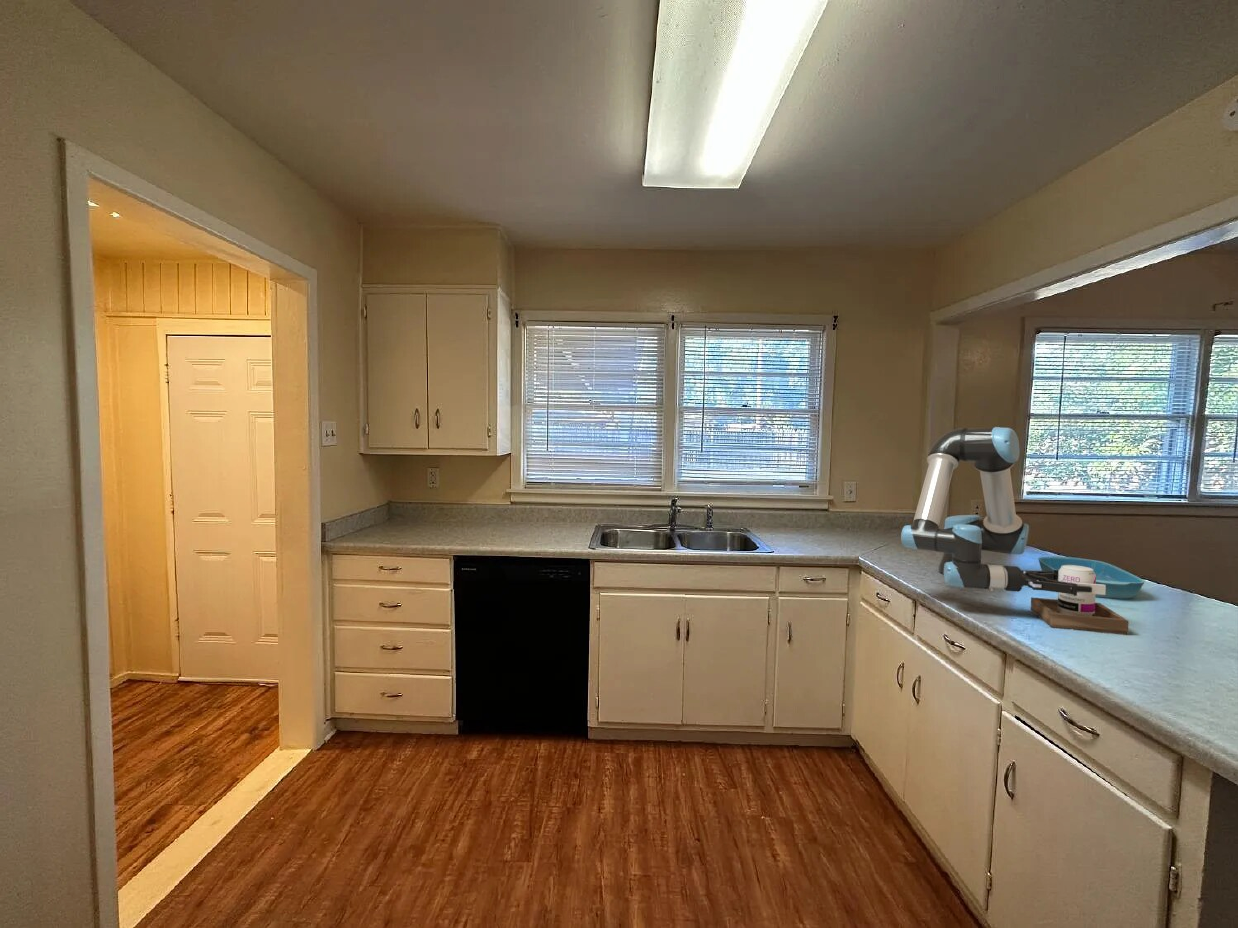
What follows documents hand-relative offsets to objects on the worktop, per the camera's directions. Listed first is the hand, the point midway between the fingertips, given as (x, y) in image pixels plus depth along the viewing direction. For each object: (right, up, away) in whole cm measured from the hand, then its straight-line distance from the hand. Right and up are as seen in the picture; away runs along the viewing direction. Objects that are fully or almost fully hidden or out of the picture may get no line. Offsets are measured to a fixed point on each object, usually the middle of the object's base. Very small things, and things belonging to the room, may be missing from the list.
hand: (1095, 584), depth 151 cm
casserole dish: (+30, -9, +36) cm, 48 cm away
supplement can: (-4, -11, +2) cm, 12 cm away
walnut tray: (-4, -11, +2) cm, 12 cm away
